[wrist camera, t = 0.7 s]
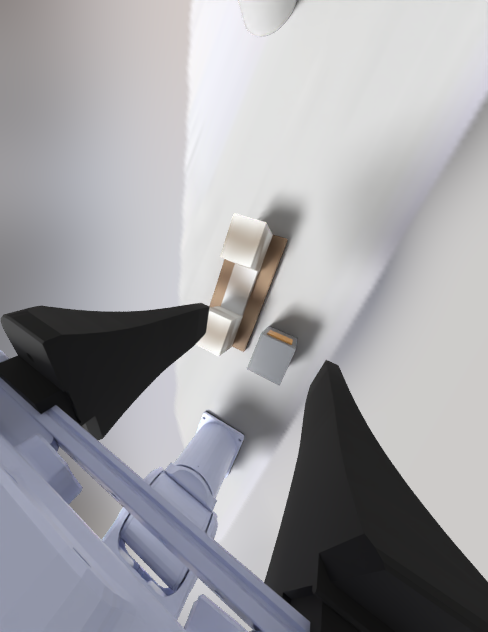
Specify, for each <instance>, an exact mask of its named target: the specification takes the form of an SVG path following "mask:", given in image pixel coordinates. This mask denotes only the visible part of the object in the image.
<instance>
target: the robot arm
mask: <svg viewBox="0 0 488 632" xmlns="http://www.w3.org/2000/svg"><path fill="white" fill-rule="evenodd" d="M209 308H210V307H209V306H207V305H205V304H202V303H197V304H190V305H183V306H177V307H171V308H163V309H156V310H147V311H131V312H100V311H84V310H71V309H63V308H55V307H47V306H36V307H32V308H27V309H24V310H20V311H16V312H12V313H8V314H4V315H3V316H2V318H1V323H2V326H3V329H4V331H5V333H6V334H7V336H8V338H9V340H10V342H11V343H12V345H13V347H14V349H15V350H16V352H17V354H18V356H16V357H13V358H11V359H9V358H8V357H7V356H6V355H5V353H3V352H2V351H1V350H0V632H248V631H246V629H244V628H243V627H242V626H241V625H240V624H239V623H238V622H237V621H236V620H234V619H233V618H232V617H231V616H230V615H228V614H227V613H226V612H224V611H223V610H222V609H221V608H220V607H218V606H217V605H216V604H215V603H213V602H212V601H211V600H210V599H208V598H207V597H206V596H205V595H204V594H202V595H200V596H199V597H198V600H197V601H195V602H194V604H193V606H192V609H191V611H190V614H189V616H188V619H187V622H186V624H185V626H184V628H183V627H182V626H181V625H180V624H179V623H178V622H177V619H178V617H179V615H180V613H181V611H182V608H183V606H184V604H185V602H186V599H187V597H188V595H189V593H190V591H191V590H192V588H193V586H194V584H195V582H196V580H197V578H199V579H200V580H201V581H202V582H203V583H205V585H206V586H208V588H210V589H211V590H212V591H213V592H214V593H215V594H216V595H217V596H218V597H219V598H220V599H221V600H222V601H223V602H224V603H225V604H227V605H228V606H229V607H230V608H231V609H232V610H233V611H234V612H235V613H236V614H237V615H238V616H239V617H240V618H241V619H242V620H243V621H244V622H245V623H247V624H248V625H249V626H250V627H251V628H252V629H253V630H252V631H249V632H488V582H487V581H486V579H485V578H484V577H483V576H482V575H481V574H480V573H479V571H478V570H477V569H476V568H475V567H474V566H473V564H472V563H471V562H470V561H469V560H468V559H467V557H466V556H465V555H464V554H463V553H462V552H461V550H460V549H459V548H458V547H457V546H456V545H455V544H454V542H453V541H452V540H451V539H450V538H449V536H448V535H447V534H446V533H445V532H444V530H443V529H442V528H441V527H440V525H439V524H438V523H437V522H436V520H435V519H434V518H433V517H432V515H431V514H430V513H429V512H428V510H427V509H426V508H425V507H424V505H423V504H422V503H421V502H420V500H419V499H418V498H417V496H416V495H415V494H414V493H413V491H412V490H411V489H410V487H409V486H408V485H407V483H406V482H405V481H404V479H403V478H402V476H401V475H400V474H399V472H398V471H397V469H396V468H395V467H394V465H393V464H392V462H391V461H390V460H389V458H388V457H387V455H386V454H385V452H384V451H383V449H382V448H381V446H380V445H379V443H378V441H377V440H376V438H375V437H374V435H373V434H372V432H371V430H370V428H369V427H368V425H367V423H366V421H365V420H364V418H363V416H362V414H361V412H360V411H359V409H358V407H357V405H356V403H355V401H354V399H353V397H352V395H351V393H350V391H349V388H348V386H347V384H346V382H345V379H344V377H343V375H342V373H341V370H340V368H339V366H338V365H336V364H334V363H332V362H330V361H327V360H326V361H325V363H324V364H323V366H322V367H321V369H320V371H319V372H318V374H317V375H316V377H315V379H314V380H313V382H312V384H311V385H310V388H309V392H308V395H307V399H306V403H305V410H304V418H303V427H302V433H301V441H300V448H299V454H298V458H297V462H296V467H295V471H294V475H293V480H292V483H291V487H290V492H289V496H288V499H287V503H286V507H285V511H284V515H283V518H282V522H281V526H280V530H279V533H278V537H277V540H276V544H275V547H274V551H273V555H272V558H271V562H270V565H269V568H268V572H267V575H266V579H265V582H263V581H262V580H260V579H259V578H258V577H257V576H256V575H255V574H253V573H252V572H251V571H250V570H249V569H248V568H246V567H245V566H244V565H243V564H242V563H241V562H239V561H238V560H237V559H236V558H234V557H233V556H232V555H231V554H230V553H229V552H228V551H226V550H225V549H224V548H223V547H222V546H220V545H219V544H218V543H217V542H216V541H215V540H214V537H215V534H216V531H217V527H218V523H217V514H216V513H215V512H212V511H213V509H214V506H215V504H216V502H217V500H216V499H215V498H216V496H217V494H218V491H219V489H220V487H221V484H222V482H223V480H224V478H227V476H228V474H229V472H230V469H231V467H232V465H233V462H234V460H235V458H236V456H237V453H238V451H239V449H240V447H241V444H242V442H243V440H244V435H243V434H242V433H240V432H238V431H237V430H235V429H234V428H232V427H230V426H229V425H227V424H225V423H224V422H222V421H220V420H219V419H217V418H215V417H214V416H212V415H210V414H209V413H207V412H204V413H203V415H202V418H201V421H200V423H199V426H198V429H197V432H196V434H195V436H194V437H193V439H192V440H191V441H190V442H189V444H188V445H187V446H186V448H185V449H184V450H183V452H182V453H181V454H180V456H179V457H178V459H176V461H175V462H174V463H173V464H172V463H170V464H169V466H168V467H167V468H166V469H165V470H164V469H163V468H162V467H159V468H158V469H155V470H153V471H151V472H150V473H149V474H148V475H147V476H146V477H145V478H144V480H143V479H142V478H141V477H140V476H139V475H138V474H136V473H135V472H134V471H133V470H132V469H130V468H129V467H128V466H127V465H126V464H125V463H123V462H122V461H121V460H120V459H119V458H118V457H116V456H115V455H114V454H113V453H112V452H111V451H109V450H108V449H107V448H106V447H105V446H104V445H102V444H101V443H100V442H99V441H98V440H100V439H103V438H104V436H105V435H106V434H107V433H108V431H109V430H110V429H111V428H112V427H113V425H114V424H115V423H116V422H117V421H118V419H119V418H120V417H121V416H122V415H123V413H124V412H125V411H126V410H127V409H128V408H129V407H130V406H131V404H132V403H133V402H134V401H135V400H136V399H137V398H138V397H139V395H140V394H141V393H142V392H143V391H144V390H145V389H146V388H147V387H148V386H149V385H150V384H151V383H152V382H153V381H154V380H155V379H156V378H157V377H158V376H159V375H160V374H161V373H162V372H163V371H164V370H165V369H166V368H167V367H169V366H170V365H171V364H172V363H173V362H175V361H176V360H177V359H178V358H180V357H181V356H182V355H183V354H185V353H186V352H187V351H188V350H189V349H191V348H192V347H193V346H194V345H195V344H196V343H197V342H198V341H199V340H200V339H201V338H202V337H203V336H204V335H205V334H206V329H207V322H208V315H209ZM204 417H205V418H204ZM240 439H241V440H240ZM59 447H60V448H61V449H63V450H64V451H65V452H66V453H67V454H68V455H69V456H70V457H71V458H72V459H73V460H74V461H75V462H76V463H77V464H78V465H80V466H81V467H82V468H83V469H84V470H85V471H86V472H87V473H88V474H89V475H90V476H91V477H92V478H93V479H94V480H95V481H96V482H97V483H99V484H100V485H101V486H102V487H103V488H104V489H105V490H106V491H107V492H108V493H109V494H110V495H111V496H112V497H113V498H114V499H115V500H117V501H118V502H119V503H120V504H121V505H122V506H123V508H122V510H121V511H120V513H119V515H118V517H117V519H116V520H115V522H114V523H113V525H112V526H111V528H110V529H109V530H108V532H107V533H106V534H105V536H104V537H103V539H102V540H101V539H100V538H99V537H98V536H97V535H96V533H95V532H94V531H92V529H91V528H90V527H89V526H88V525H87V524H86V523H85V522H84V521H83V520H82V519H81V517H80V516H79V515H78V514H77V513H76V512H75V511H74V510H73V509H72V508H71V507H70V506H69V504H70V503H71V501H72V500H73V499H74V498H75V497H76V496H77V495H78V494H79V493H80V492H81V491H82V486H81V485H80V483H79V482H78V481H77V479H76V478H75V477H74V475H73V474H72V472H71V471H70V469H69V467H68V464H67V463H66V462H65V461H64V460H63V458H62V457H61V456H60V455H59V454H58V453H57V451H58V448H59ZM211 513H212V514H211ZM125 543H126V544H127V545H128V546H129V547H130V548H131V549H132V550H133V551H134V552H135V553H136V554H137V555H138V556H139V557H140V558H141V559H142V560H143V561H144V562H145V563H146V564H147V565H148V566H149V567H150V568H151V569H152V570H153V571H154V572H155V573H156V574H157V575H158V576H159V577H160V578H161V579H162V580H163V581H164V583H165V584H166V585H167V586H168V587H169V588H163V587H161V586H159V585H158V584H157V583H156V582H155V581H154V580H153V579H152V578H151V577H150V576H149V574H147V572H146V571H145V570H144V569H143V568H142V567H141V566H140V565H139V564H138V563H137V562H136V561H135V560H134V559H133V558H132V557H131V556H130V555H129V554H128V552H127V550H126V548H125Z"/></svg>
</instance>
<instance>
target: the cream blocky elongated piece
mask: <svg viewBox="0 0 488 632" xmlns="http://www.w3.org/2000/svg"><path fill="white" fill-rule="evenodd" d="M286 244H287V239H286V238H282V237H279V236H276V235H273V234H272V232H271V230H270V228H269V227H268V225H267V223H266V222H263V221H260V220H256V219H253V218H249V217H246V216H242V215H239V214H235V213H234V214H233V217H232V220H231V223H230V226H229V230H228V233H227V236H226V239H225V242H224V245H223V249H222V252H221V255H220V257H222V258H224V259H225V260H224V263H223V266H222V269H221V272H220V275H219V278H218V282H217V285H216V288H215V291H214V294H213V297H212V300H211V303H210V306H209V307H210V308H209V315H208V322H207V329H206V334H205V335H204V336H203V337H202V338H201V339H200V340H199V341H198V342H197V343H196V344H195V345H197V346H199V347H201V348H203V349H205V350H207V351H209V352H211V353H213V354H215V355H217V356H220V355H221V354H223V353H224V352H225V351H227V350H228V349H230V348H231V347H232V346H233V347H235V348H237V349H239V350H241V351H243V352H244V351H245V350H246V347H247V344H248V342H249V339H250V337H251V334H252V331H253V329H254V326H255V324H256V321H257V319H258V316H259V313H260V311H261V308H262V306H263V303H264V301H265V298H266V295H267V293H268V290H269V288H270V285H271V283H272V280H273V277H274V275H275V272H276V270H277V267H278V264H279V262H280V259H281V257H282V254H283V252H284V249H285V246H286Z"/></svg>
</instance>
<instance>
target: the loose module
mask: <svg viewBox="0 0 488 632" xmlns="http://www.w3.org/2000/svg"><path fill="white" fill-rule="evenodd" d="M296 345H297V338H295V337H293V336H291V335H288V334H286V333H284V332H281V331H279V330H277V329H274V328H272V327H270V326H269V327H267V328H266V329H265V330H264V331H263V332H262V333H261V335H260V338H259V340H258V343H257V345H256V347H255V350H254V352H253V355H252V357H251V360H250V362H249V365H248V367H247V369H248V370H250V371H252V372H254V373H256V374H258V375H260V376H262V377H264V378H266V379H268V380H269V381H271V382H273V383H275V384H277V385H279V386H280V383H281V381H282V379H283V377H284V375H285V372H286V370H287V368H288V366H289V364H290V361H291V359H292V357H293V355H294V353H295V350H296Z"/></svg>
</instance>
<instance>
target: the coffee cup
mask: <svg viewBox="0 0 488 632" xmlns="http://www.w3.org/2000/svg"><path fill="white" fill-rule="evenodd" d="M296 2H297V0H238V3H239V7H240V10H241V14H242V18H243V21H244V25H245V27H246V29H247V31H248V32H249V33H250V34H252V35H253V36H257V37H264V36H267V35H270V34H272V33H274V32H275V31H277V30H278V29H279V28H280V27H281V26H282V25H283V24H284V23H285V22H286V21H287V20H288V18H289V17H290V15H291V13H292V12H293V10H294V7H295V5H296Z"/></svg>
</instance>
